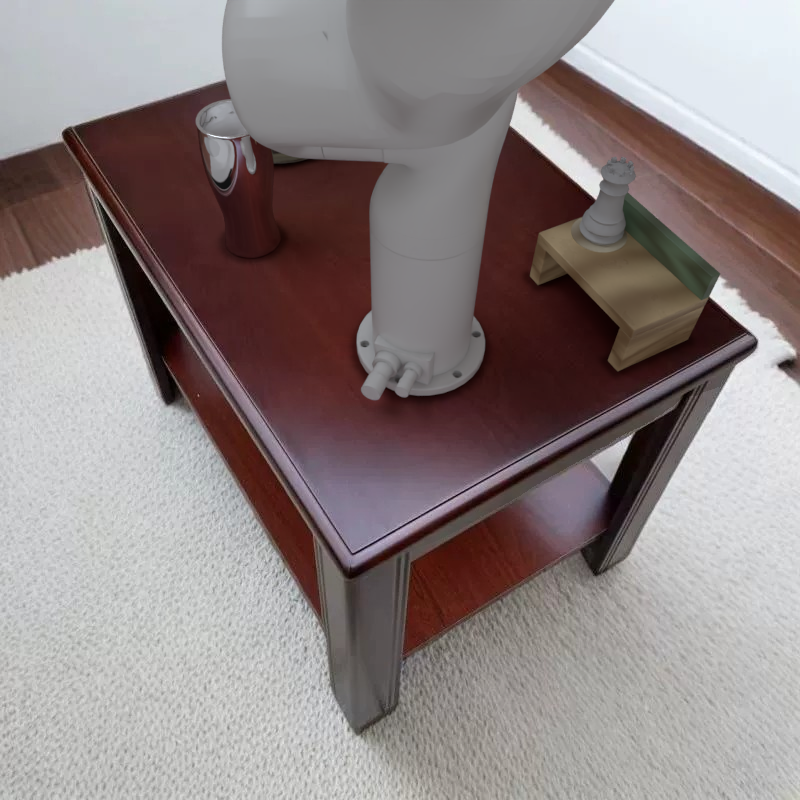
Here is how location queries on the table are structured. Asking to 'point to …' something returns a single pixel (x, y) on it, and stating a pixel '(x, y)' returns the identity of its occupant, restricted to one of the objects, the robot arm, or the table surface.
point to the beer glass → (239, 180)
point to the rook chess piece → (609, 204)
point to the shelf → (632, 280)
